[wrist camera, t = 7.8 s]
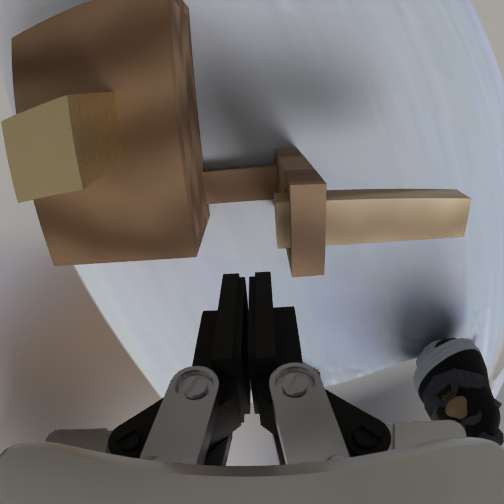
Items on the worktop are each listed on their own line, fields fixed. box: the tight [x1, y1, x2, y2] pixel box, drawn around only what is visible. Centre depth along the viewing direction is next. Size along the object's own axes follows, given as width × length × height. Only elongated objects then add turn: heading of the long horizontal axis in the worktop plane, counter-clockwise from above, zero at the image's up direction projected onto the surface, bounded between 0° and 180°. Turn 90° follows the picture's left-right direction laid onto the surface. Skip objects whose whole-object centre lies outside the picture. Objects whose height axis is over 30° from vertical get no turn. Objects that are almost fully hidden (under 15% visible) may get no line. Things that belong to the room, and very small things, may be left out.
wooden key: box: [274, 189, 471, 249], centre depth 20 cm, size 3×14×2 cm, turn 94°
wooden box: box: [171, 0, 326, 277], centre depth 20 cm, size 20×22×12 cm
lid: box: [2, 0, 199, 266], centre depth 16 cm, size 20×13×8 cm, turn 4°
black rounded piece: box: [413, 338, 504, 446], centre depth 31 cm, size 11×11×20 cm
